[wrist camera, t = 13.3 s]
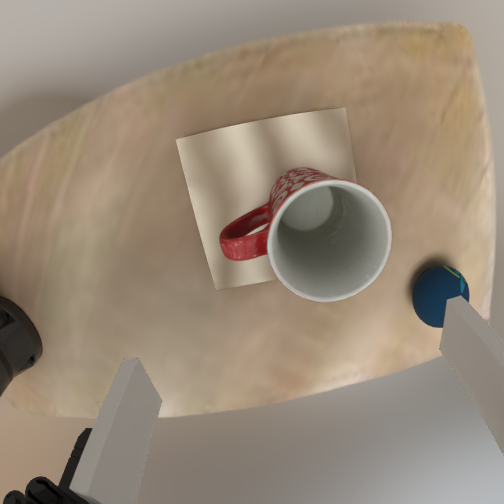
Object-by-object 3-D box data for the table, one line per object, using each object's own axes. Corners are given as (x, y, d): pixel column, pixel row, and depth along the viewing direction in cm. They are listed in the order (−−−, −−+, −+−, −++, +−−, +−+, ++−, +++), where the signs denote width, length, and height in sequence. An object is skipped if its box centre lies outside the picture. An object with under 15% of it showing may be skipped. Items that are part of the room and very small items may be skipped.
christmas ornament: (457, 282, 41) (492, 316, 32) (417, 316, 43) (445, 357, 34) (437, 244, 38) (476, 276, 29) (393, 282, 41) (424, 323, 31)
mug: (341, 154, 31) (393, 174, 19) (346, 234, 35) (390, 293, 22) (222, 167, 32) (200, 195, 20) (235, 247, 36) (225, 315, 23)
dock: (218, 278, 41) (215, 290, 38) (182, 138, 34) (175, 139, 31) (356, 252, 39) (364, 262, 36) (338, 108, 32) (345, 107, 29)
